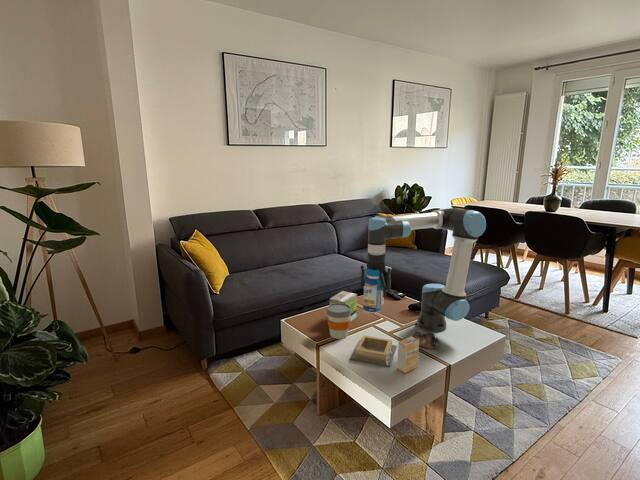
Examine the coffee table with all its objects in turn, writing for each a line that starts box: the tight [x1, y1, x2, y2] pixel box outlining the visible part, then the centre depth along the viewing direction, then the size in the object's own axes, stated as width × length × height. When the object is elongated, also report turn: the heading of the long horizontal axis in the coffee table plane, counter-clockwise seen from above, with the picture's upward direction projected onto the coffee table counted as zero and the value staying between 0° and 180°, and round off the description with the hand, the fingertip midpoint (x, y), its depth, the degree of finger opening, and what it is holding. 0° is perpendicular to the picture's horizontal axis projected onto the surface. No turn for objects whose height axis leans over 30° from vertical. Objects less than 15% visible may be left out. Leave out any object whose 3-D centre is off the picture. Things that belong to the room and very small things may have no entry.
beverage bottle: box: [362, 267, 383, 314], centre depth 160 cm, size 8×8×20 cm
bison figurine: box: [411, 330, 442, 350], centre depth 171 cm, size 12×7×10 cm
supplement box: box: [396, 336, 420, 374], centre depth 152 cm, size 8×5×13 cm, turn 126°
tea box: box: [329, 290, 358, 323], centre depth 199 cm, size 15×10×15 cm, turn 148°
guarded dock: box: [349, 335, 398, 368], centre depth 165 cm, size 18×18×4 cm
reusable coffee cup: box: [326, 303, 352, 340], centre depth 182 cm, size 13×13×15 cm
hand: (375, 302), depth 161 cm, fingers closed on beverage bottle, 6 cm apart
